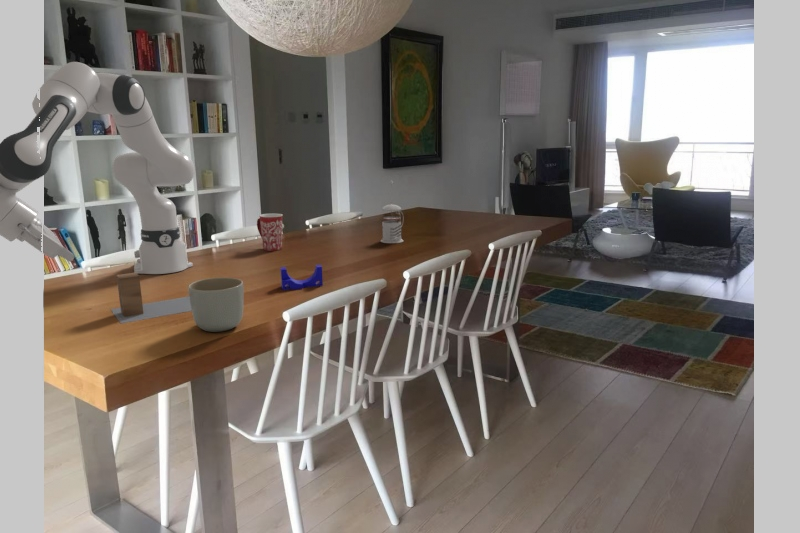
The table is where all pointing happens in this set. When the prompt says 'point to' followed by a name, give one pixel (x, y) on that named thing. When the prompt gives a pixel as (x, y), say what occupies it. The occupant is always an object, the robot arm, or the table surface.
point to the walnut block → (130, 294)
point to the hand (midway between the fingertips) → (72, 258)
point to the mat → (157, 309)
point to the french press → (392, 224)
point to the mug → (270, 231)
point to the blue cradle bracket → (303, 283)
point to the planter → (217, 303)
